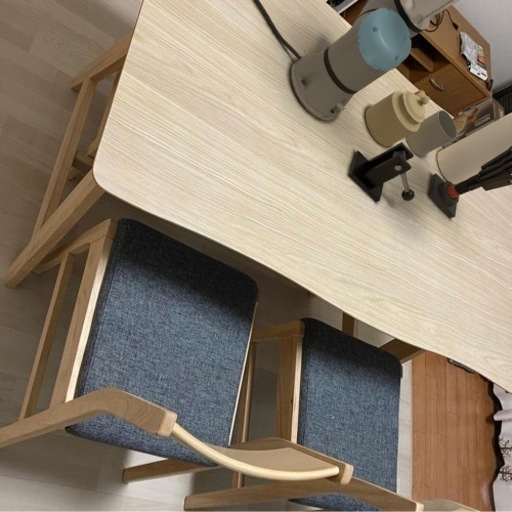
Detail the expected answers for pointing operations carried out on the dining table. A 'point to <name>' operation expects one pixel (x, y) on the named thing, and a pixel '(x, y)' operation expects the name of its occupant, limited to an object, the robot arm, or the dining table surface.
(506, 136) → the tall pillar cylinder
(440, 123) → the cup
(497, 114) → the coffee box
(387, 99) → the sugar bowl
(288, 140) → the dining table surface
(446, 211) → the button block
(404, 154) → the lever
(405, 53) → the robot arm
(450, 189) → the button
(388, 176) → the bracket
